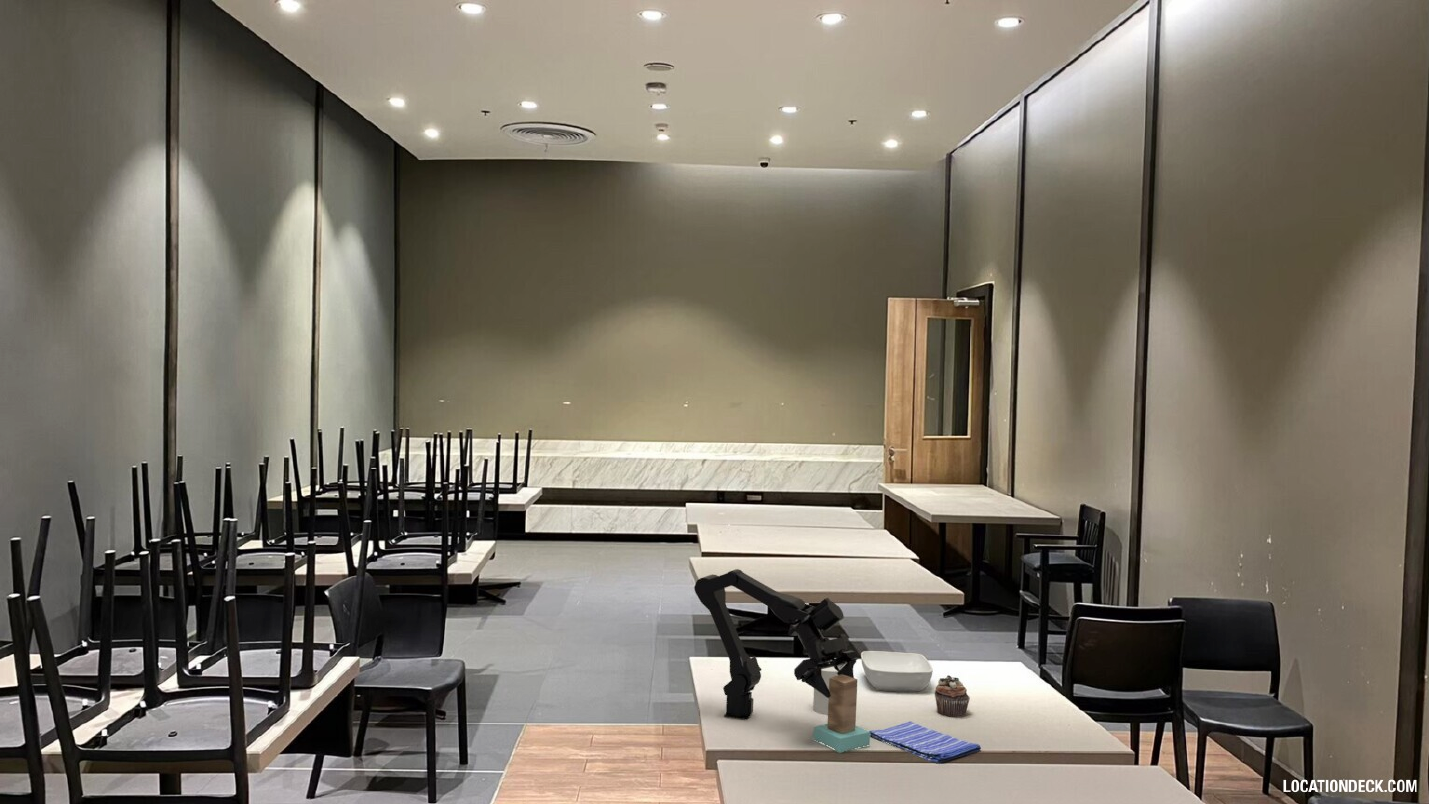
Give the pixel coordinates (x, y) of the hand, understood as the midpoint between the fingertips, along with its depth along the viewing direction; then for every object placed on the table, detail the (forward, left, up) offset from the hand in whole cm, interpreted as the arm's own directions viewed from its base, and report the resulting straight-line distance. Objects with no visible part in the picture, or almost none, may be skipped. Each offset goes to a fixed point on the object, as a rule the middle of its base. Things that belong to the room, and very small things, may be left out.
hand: (842, 693), depth 267 cm
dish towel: (+20, +8, -13) cm, 26 cm away
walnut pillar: (0, 0, -9) cm, 9 cm away
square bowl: (+7, +57, -13) cm, 59 cm away
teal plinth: (0, 0, -13) cm, 13 cm away
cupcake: (+25, +36, -13) cm, 46 cm away
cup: (-8, +25, -13) cm, 29 cm away
